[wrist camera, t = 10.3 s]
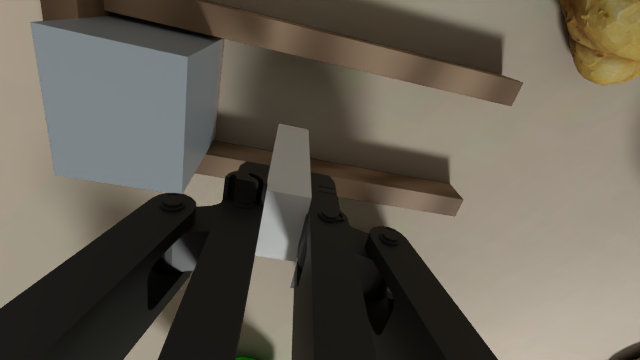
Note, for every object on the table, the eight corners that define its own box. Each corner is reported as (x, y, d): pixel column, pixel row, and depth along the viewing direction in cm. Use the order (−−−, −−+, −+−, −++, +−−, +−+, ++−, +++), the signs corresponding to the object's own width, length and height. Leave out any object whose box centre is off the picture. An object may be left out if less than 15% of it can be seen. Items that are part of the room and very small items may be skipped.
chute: (502, 75, 24) (549, 92, 19) (442, 199, 29) (469, 235, 24) (94, -29, 19) (35, -37, 15) (106, 141, 24) (65, 172, 20)
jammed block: (223, 38, 21) (187, 57, 14) (214, 138, 24) (181, 194, 17) (123, 14, 20) (30, 22, 13) (127, 122, 23) (54, 175, 16)
